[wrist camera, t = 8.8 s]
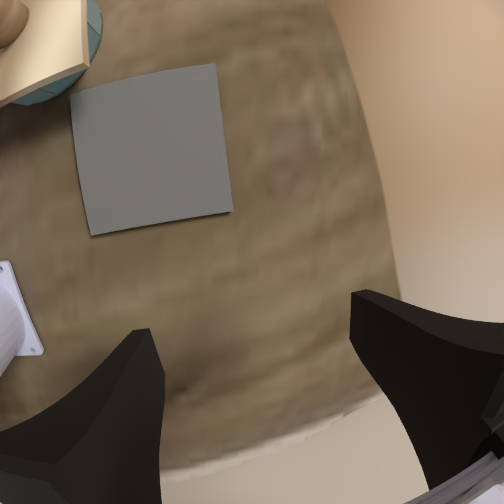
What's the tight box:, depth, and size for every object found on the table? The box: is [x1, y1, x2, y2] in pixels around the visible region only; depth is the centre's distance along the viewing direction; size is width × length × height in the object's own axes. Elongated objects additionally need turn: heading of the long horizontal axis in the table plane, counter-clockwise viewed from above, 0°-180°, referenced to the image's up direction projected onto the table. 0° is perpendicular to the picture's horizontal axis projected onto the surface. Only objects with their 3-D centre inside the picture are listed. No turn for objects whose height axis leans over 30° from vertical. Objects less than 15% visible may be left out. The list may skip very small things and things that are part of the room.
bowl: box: [10, 0, 103, 106], centre depth 11 cm, size 8×8×4 cm
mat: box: [70, 63, 233, 236], centre depth 17 cm, size 9×9×1 cm
